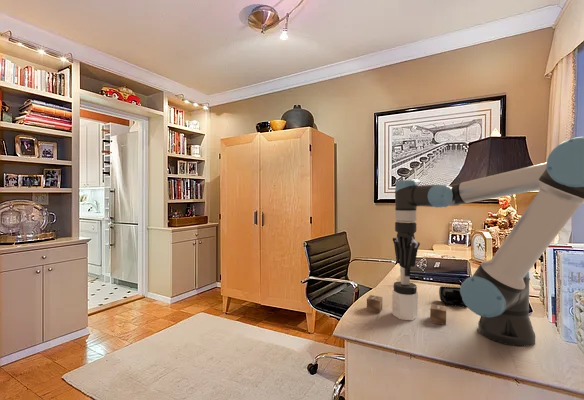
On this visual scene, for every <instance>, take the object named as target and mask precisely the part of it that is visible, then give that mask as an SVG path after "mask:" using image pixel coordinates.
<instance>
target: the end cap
mask: <svg viewBox="0 0 584 400" xmlns="http://www.w3.org/2000/svg"><path fill="white" fill-rule="evenodd" d="M460 288H461V286H460V287H458V286H457V287H456V286H444V285H443V286H442V285H441V286H440V287H439V290H438V296H439V299H440V301H441V303H442V304H443V306H446V307H456V308H468V307H467V306H466V305H465V303H464V302H463V300H462V296H461V293H460Z"/></svg>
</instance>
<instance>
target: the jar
mask: <svg viewBox="0 0 584 400" xmlns="http://www.w3.org/2000/svg"><path fill="white" fill-rule="evenodd" d="M392 287H393V289H392V304H391V305H392V307H391V308H392V316H394V317H396V318H397V319H399V320H400V321H401V320H402V321H414V320H416V319H417V317H418V312H419V311H418V310H419V309H418V307H419V305H418V304H419V302H418V301H419V300H418V299H419V297H418V296H419V295H418V294H419V293H418V291H417V289H418V287H417V285H416V283H413V282H410V284H408V285H402V284H401V280H399V281H396V282H393V286H392Z"/></svg>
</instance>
